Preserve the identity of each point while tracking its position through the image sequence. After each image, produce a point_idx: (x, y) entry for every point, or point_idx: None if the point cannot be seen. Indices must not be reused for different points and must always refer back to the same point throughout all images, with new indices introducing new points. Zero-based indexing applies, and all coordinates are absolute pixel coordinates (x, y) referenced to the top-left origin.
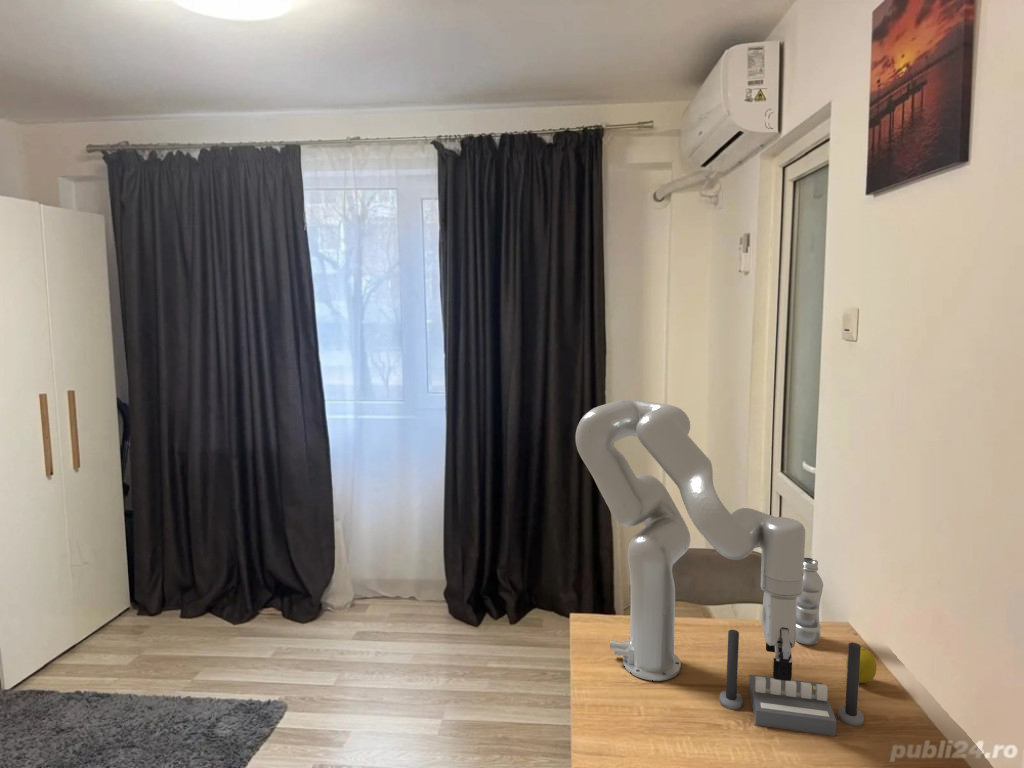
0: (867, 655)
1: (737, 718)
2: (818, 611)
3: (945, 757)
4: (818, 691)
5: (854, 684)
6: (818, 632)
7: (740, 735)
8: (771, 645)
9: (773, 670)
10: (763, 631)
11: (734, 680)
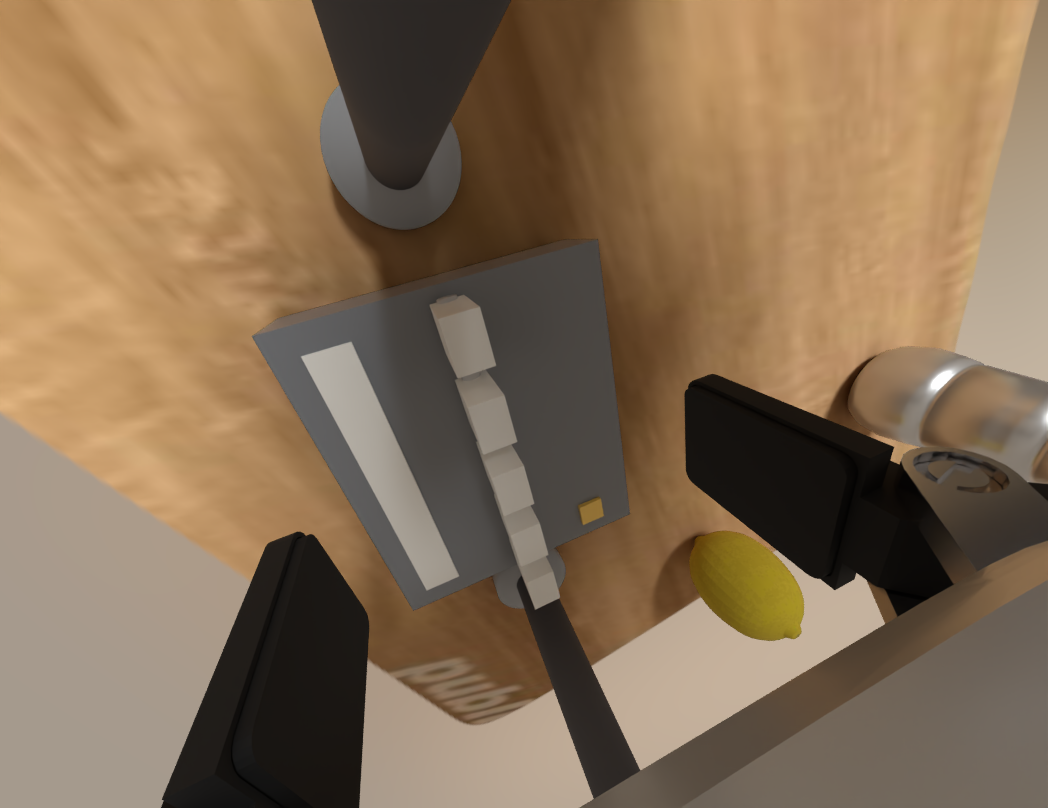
0: (763, 639)
1: (268, 218)
2: None
3: (471, 723)
4: (521, 570)
5: (561, 709)
6: (897, 440)
7: (107, 257)
8: (729, 438)
9: (243, 607)
10: (863, 706)
11: (365, 146)
